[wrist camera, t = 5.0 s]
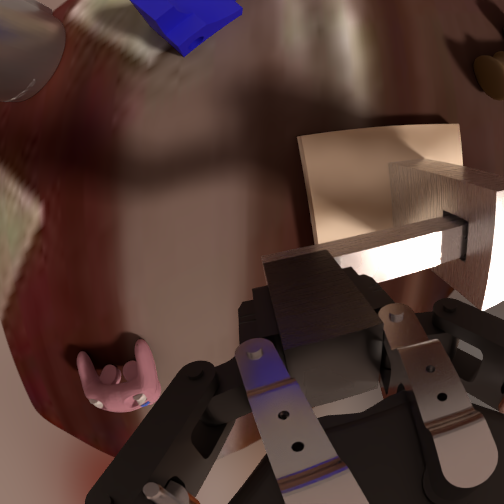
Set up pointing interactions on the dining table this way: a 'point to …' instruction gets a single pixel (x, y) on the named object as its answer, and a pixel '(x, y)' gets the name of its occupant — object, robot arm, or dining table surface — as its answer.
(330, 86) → the dining table surface
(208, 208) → the dining table surface
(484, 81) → the kendama
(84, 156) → the dining table surface
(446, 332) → the robot arm
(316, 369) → the shaft
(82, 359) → the video game controller
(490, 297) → the stand
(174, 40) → the cable clip
